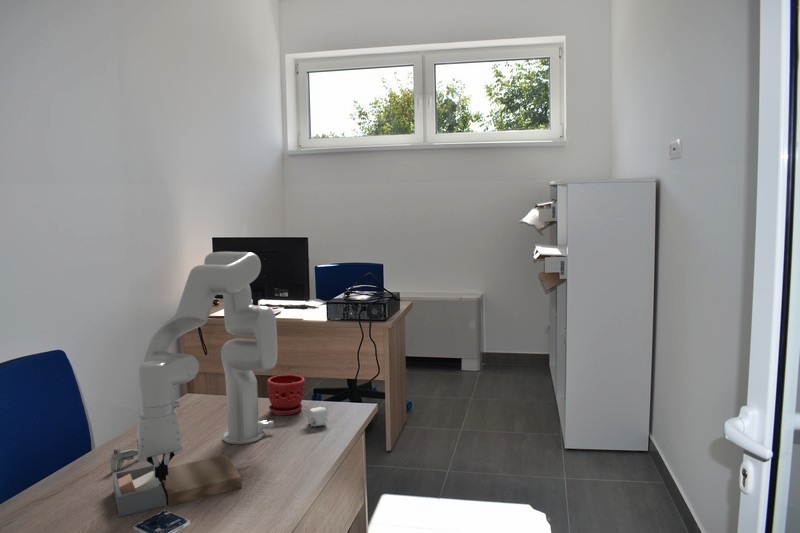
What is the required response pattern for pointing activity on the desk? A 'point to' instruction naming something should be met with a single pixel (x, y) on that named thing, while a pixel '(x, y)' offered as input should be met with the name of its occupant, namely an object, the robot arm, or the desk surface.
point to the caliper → (121, 458)
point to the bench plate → (200, 479)
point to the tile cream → (146, 481)
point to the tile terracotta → (126, 484)
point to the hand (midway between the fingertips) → (161, 478)
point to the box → (137, 493)
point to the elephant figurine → (316, 415)
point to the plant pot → (285, 394)
